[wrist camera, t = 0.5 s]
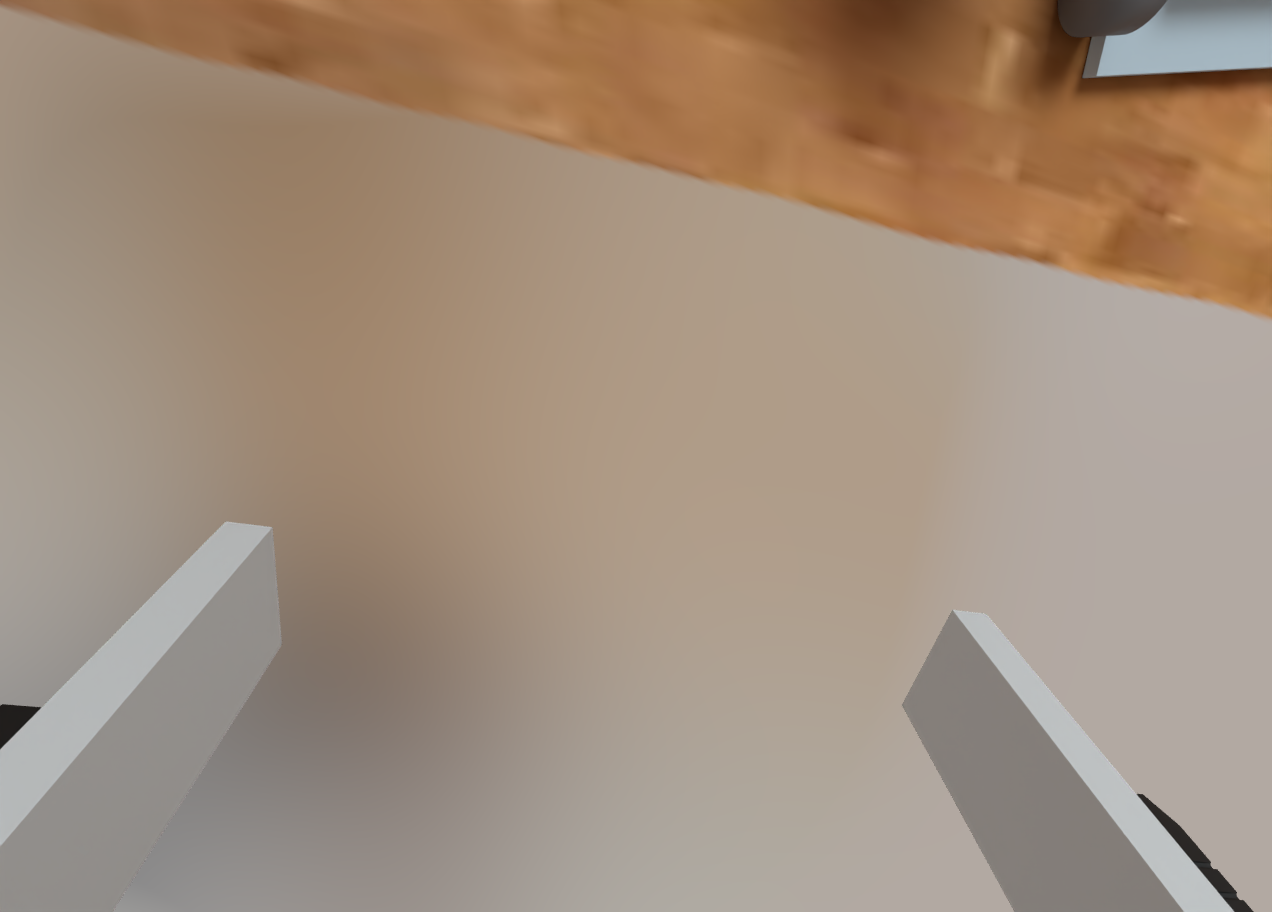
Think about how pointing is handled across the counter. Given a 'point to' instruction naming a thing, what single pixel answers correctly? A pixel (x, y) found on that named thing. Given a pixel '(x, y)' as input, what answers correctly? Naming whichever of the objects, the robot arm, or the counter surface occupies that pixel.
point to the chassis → (1170, 35)
